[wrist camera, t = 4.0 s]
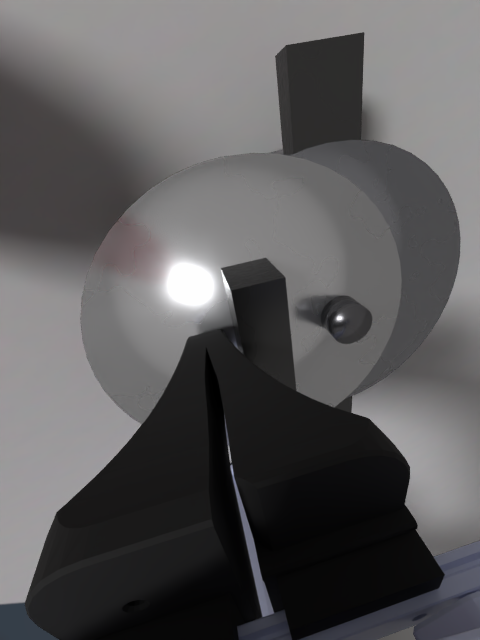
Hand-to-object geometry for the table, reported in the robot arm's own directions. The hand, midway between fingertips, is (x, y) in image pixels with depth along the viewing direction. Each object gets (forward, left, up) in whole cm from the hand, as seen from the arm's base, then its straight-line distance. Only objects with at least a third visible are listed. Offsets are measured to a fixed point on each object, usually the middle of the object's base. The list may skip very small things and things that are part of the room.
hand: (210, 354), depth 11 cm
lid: (0, -2, -1) cm, 2 cm away
